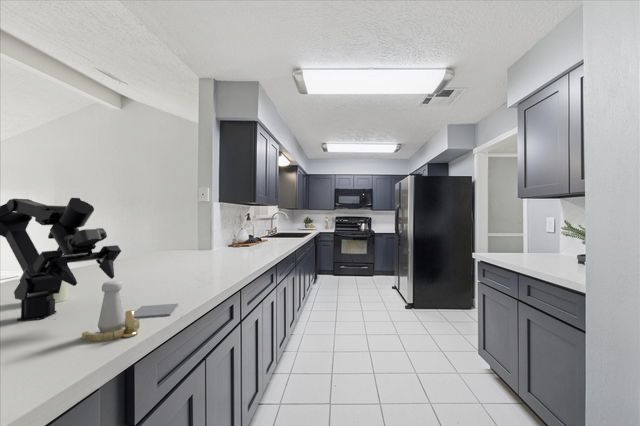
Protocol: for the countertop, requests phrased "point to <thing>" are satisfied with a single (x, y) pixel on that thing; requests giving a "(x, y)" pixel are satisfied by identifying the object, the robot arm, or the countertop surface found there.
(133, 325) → the gold curved piece
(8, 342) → the countertop surface
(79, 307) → the countertop surface
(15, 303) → the countertop surface
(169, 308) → the coaster
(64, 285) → the can
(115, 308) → the salt shaker
